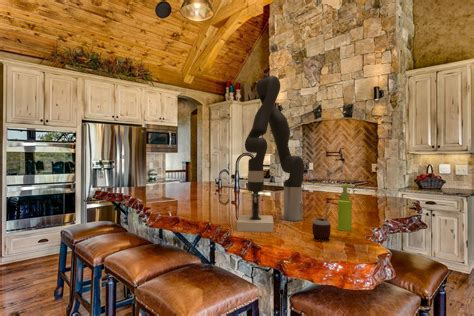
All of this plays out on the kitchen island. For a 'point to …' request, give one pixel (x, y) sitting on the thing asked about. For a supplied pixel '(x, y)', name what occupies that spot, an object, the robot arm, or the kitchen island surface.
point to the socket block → (255, 223)
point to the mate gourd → (321, 228)
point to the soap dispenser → (345, 211)
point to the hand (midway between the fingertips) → (255, 217)
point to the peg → (258, 212)
